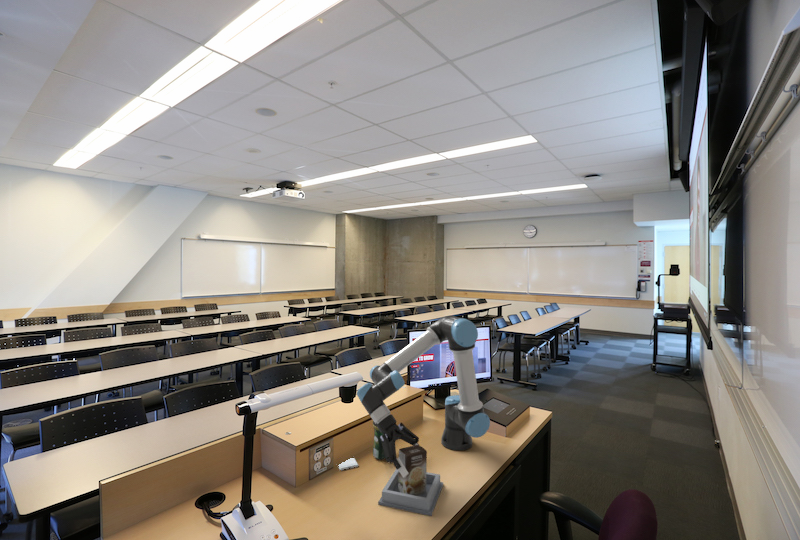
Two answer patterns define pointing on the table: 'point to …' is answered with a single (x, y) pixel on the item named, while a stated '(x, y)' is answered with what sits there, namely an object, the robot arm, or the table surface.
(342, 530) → the table surface
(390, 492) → the dock tray
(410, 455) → the coffee box
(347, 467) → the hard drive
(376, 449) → the coffee jar
